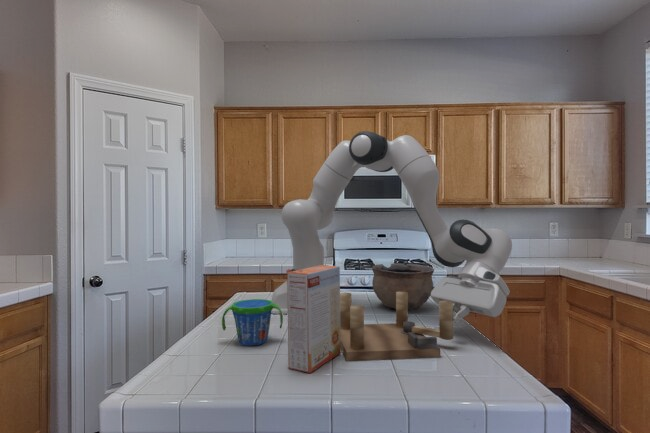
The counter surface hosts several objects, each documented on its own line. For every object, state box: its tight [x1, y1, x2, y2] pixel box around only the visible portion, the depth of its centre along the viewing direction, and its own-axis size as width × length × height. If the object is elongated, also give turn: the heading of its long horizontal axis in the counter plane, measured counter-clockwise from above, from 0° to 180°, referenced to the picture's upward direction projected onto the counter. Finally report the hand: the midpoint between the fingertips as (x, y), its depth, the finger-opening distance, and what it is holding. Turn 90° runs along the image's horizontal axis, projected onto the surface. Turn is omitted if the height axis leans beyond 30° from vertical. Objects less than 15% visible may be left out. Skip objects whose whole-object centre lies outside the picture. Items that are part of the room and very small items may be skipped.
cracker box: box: [286, 264, 342, 374], centre depth 85 cm, size 14×6×21 cm, turn 149°
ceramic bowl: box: [371, 262, 435, 310], centre depth 137 cm, size 22×22×15 cm
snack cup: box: [221, 298, 284, 347], centre depth 98 cm, size 16×11×10 cm
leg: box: [403, 301, 454, 341], centre depth 97 cm, size 13×3×9 cm, turn 51°
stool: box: [340, 292, 441, 362], centre depth 97 cm, size 22×22×11 cm
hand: (451, 320), depth 97 cm, fingers closed
